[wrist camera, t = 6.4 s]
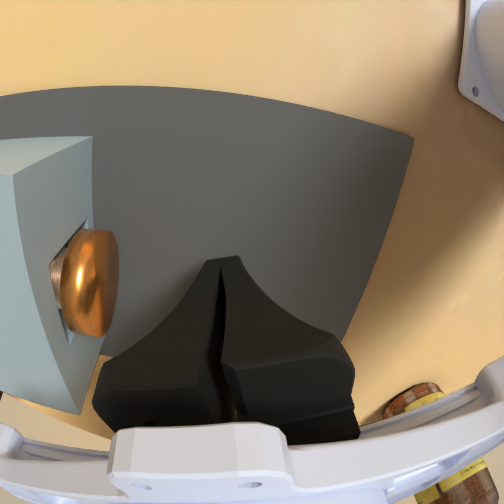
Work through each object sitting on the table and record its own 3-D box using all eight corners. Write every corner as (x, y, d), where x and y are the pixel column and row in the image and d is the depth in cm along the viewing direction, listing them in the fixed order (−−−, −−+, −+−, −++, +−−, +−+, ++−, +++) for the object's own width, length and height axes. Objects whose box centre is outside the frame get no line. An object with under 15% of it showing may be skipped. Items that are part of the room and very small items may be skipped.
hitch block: (96, 134, 10) (12, 174, 5) (108, 326, 15) (80, 415, 10) (-9, 139, 9) (-95, 179, 4) (21, 310, 14) (-20, 382, 9)
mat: (409, 136, 12) (414, 137, 11) (325, 364, 18) (327, 369, 18) (-21, 100, 8) (-26, 101, 8) (18, 331, 15) (16, 335, 14)
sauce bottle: (397, 422, 25) (453, 578, 8) (367, 413, 23) (428, 603, 5) (449, 384, 23) (522, 542, 6) (427, 368, 20) (516, 565, 3)
